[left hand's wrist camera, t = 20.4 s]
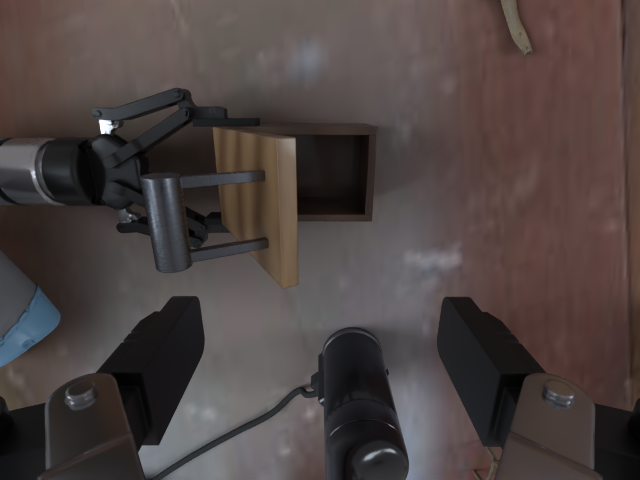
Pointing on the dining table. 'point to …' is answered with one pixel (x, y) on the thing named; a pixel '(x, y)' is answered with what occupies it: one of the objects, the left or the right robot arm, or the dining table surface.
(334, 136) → the chest
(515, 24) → the jawbone
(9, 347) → the right robot arm
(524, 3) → the dining table surface
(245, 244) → the lid
